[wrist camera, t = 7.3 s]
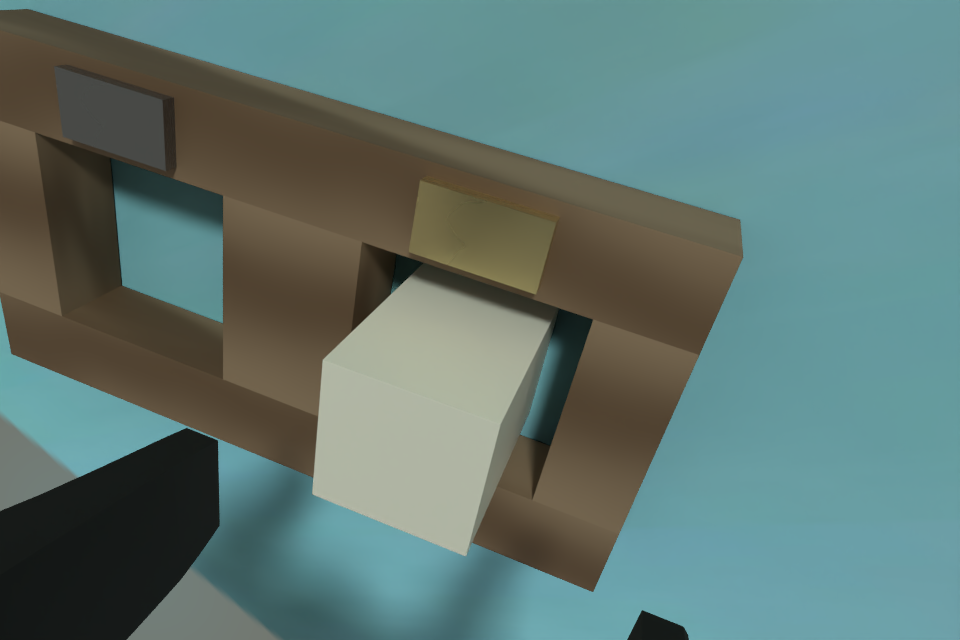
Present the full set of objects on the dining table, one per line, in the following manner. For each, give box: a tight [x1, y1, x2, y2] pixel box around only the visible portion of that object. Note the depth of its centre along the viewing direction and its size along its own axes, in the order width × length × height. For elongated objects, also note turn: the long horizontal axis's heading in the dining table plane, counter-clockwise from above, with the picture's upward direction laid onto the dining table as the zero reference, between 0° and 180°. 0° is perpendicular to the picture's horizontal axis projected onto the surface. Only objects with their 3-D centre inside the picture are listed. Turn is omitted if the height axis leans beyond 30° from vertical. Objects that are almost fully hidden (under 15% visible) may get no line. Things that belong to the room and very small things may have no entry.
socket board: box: [0, 9, 743, 592], centre depth 19 cm, size 11×21×2 cm, turn 78°
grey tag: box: [54, 64, 177, 171], centre depth 17 cm, size 2×3×1 cm, turn 78°
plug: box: [312, 263, 559, 556], centre depth 17 cm, size 4×4×6 cm
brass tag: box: [409, 176, 560, 294], centre depth 15 cm, size 2×3×1 cm, turn 78°
